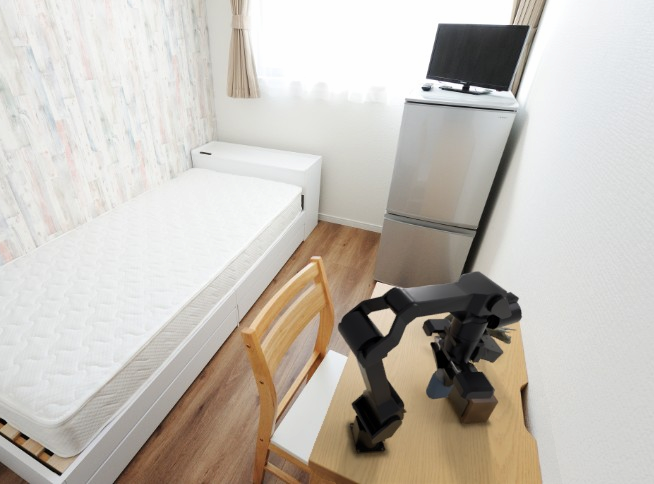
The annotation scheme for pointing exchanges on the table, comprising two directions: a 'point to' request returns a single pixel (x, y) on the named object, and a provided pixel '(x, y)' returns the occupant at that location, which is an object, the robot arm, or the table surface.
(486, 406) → the radio
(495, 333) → the toy dinosaur
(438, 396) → the vaping device
